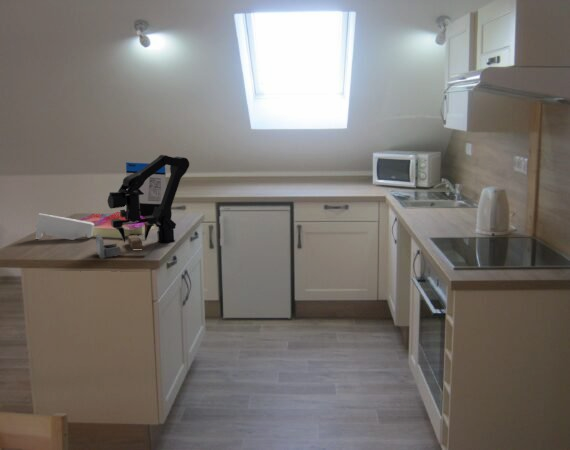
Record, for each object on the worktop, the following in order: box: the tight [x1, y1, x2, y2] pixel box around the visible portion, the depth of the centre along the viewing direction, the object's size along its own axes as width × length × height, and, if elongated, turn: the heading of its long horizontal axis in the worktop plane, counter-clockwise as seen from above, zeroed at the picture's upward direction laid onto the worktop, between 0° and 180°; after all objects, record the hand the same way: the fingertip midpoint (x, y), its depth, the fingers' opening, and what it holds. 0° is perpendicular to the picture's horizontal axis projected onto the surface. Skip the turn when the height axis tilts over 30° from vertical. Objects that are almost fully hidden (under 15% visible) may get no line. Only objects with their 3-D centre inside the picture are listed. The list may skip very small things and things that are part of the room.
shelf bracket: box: [35, 213, 94, 241], centre depth 289 cm, size 6×25×13 cm, turn 92°
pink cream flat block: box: [79, 211, 156, 239], centre depth 304 cm, size 38×25×10 cm
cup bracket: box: [95, 234, 121, 260], centre depth 261 cm, size 8×10×8 cm
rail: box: [127, 234, 143, 250], centre depth 275 cm, size 14×4×4 cm, turn 22°
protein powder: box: [125, 162, 167, 219], centre depth 329 cm, size 10×24×30 cm, turn 67°
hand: (135, 240), depth 274 cm, fingers open, 9 cm apart
